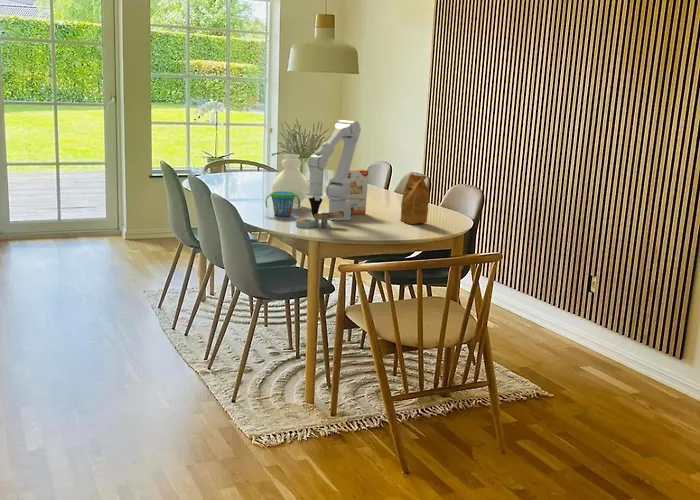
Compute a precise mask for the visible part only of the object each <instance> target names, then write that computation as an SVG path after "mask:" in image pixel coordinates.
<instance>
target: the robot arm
mask: <svg viewBox="0 0 700 500" xmlns="http://www.w3.org/2000/svg"><path fill="white" fill-rule="evenodd" d="M361 131H362V128H361V125H360V122H359V121H357V120H344V119H338V120H337V121H336V123H335V124H334V131H332V134H331V135H330V137H329V138H328V140H327V141H325V142H323V143H322V144H321V145H320V147H319V148H318V149H317V151H316V152H315V153H314V154H312V155H310V156H309V157H308V159H307V162H306V163H307V166H308V171H309V183H308V184H309V192H308V193H306V195H307V196H310V197H308V201H309V205H310V208H311V210H310V211H311V216H312V215H314V214H318V213H319V211H320V210H319V209H320V206H321V204H322V202H323V198H322V197H323V196H324V195H323V194H324V193H323V188H324V172H325V171H324V169H326V168H327V166H328V162H329V158H330V157H331V156H332V154H333V153H334V151H335V147H336V145H337V144H338V143H339V141H340V140H341V141H343V147H342V151H341V154H340V156H339V161H338V164H337V168H336V172H335V174H334V176H333V177H332V178H331V179H329V182H328V184H327V185H326V188H325V195H326V197H327V200H329V201H328V202H329V203H328V213H329V212H336V211H341V209H342V210H343V211H344V217H337V218H329V219H328V220H329V221H332V220H334V221H352V219H351V215H352V214H351V203H350V200H348V199H347V198H348V197H349V195H350V186H351V185H350V183H349V182H348V181H347V177H348V173H349V169H351V165H352V161H353V158H354V154H355V150H356V147H357V143H358V142H359V138H360V135H361V134H360V133H361Z"/></svg>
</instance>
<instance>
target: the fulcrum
mask: <svg viewBox="0 0 700 500" xmlns="http://www.w3.org/2000/svg"><path fill="white" fill-rule="evenodd" d="M313 220H314V226H315V227H314V228H319V229H320V228H331V229H332V226H331V225H330V223H328V221H329V219H328V216H324V219H322V220H321V221H320V220H316V219H315V218H313ZM319 221H320V222H319Z"/></svg>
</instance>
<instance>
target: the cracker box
mask: <svg viewBox="0 0 700 500" xmlns="http://www.w3.org/2000/svg"><path fill="white" fill-rule="evenodd" d="M368 180H369V170H367V169H365V168H362V169H360V168H350V169H349V173H348V177H347V181H348V182H349V183H350V185H351V186H350V195H349V197H348V198H347V199H348V200H350V203H351V215H362V216H363V215H366V211H367V198H368V197H367V195H368V183H369V182H368Z"/></svg>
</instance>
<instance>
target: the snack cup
mask: <svg viewBox="0 0 700 500" xmlns="http://www.w3.org/2000/svg"><path fill="white" fill-rule="evenodd" d="M295 196H296V197H298V196H297V195H296V194H295V193H293V192H286V191H277V192H273V191H272V192H270V194H268V195H267V196H266V198H265V202H264V203H265V207H266V209H268V198H270V197H271V200H272V205H273V206H272V207H273V214H274V215H275V216H277V217H288V216H290V215H291V216H292V210H293V209H292V206H293V200H294V197H295ZM300 205H301V203H300V199H299V197H298V208H299V207H300Z"/></svg>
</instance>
